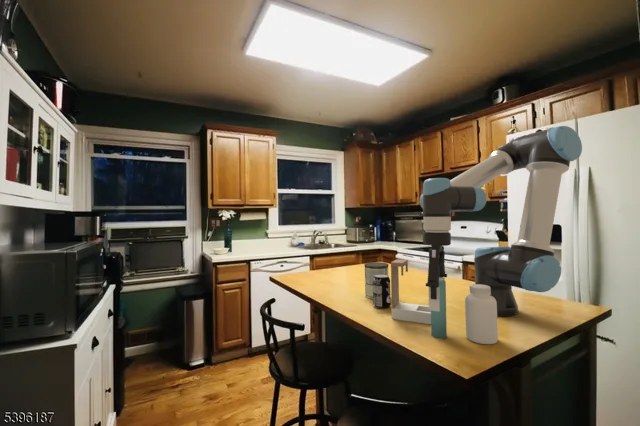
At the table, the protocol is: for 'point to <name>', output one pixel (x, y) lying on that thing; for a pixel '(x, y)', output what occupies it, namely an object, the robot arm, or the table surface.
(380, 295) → the beverage can
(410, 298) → the table surface
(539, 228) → the robot arm
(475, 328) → the pill bottle
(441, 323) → the peg
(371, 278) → the coffee can
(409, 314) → the station
